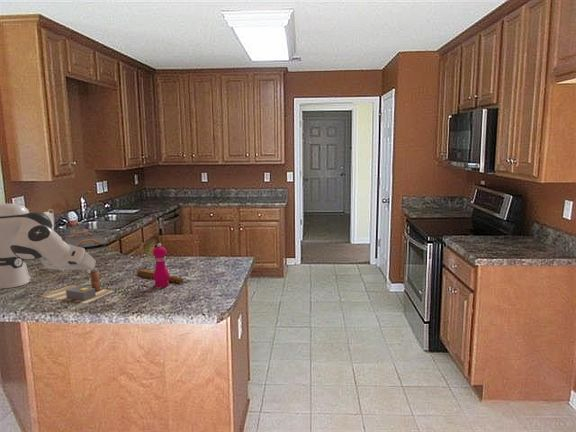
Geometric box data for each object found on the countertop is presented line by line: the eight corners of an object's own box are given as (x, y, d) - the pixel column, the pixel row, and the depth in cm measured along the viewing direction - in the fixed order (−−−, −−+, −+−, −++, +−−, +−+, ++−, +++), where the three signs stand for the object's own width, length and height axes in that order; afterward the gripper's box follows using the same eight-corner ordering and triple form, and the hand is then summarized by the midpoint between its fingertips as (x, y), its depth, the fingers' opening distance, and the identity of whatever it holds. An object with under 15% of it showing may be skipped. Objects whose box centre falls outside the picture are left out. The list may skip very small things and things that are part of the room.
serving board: (64, 241, 306) (63, 232, 305) (99, 237, 318) (98, 228, 317) (69, 252, 273) (68, 243, 272) (109, 247, 285) (108, 238, 284)
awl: (90, 291, 195) (87, 263, 192) (96, 289, 198) (93, 261, 196) (96, 292, 193) (93, 264, 191) (102, 290, 196) (99, 262, 194)
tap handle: (178, 278, 206) (135, 269, 221) (179, 285, 206) (135, 275, 222) (183, 276, 208) (140, 268, 224) (183, 283, 209) (140, 274, 224)
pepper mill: (156, 283, 209) (153, 241, 205) (171, 282, 208) (169, 241, 205) (151, 288, 202) (148, 245, 198) (167, 287, 201) (164, 245, 198)
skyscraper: (59, 253, 272) (55, 208, 268) (57, 256, 265) (52, 210, 260) (44, 254, 270) (39, 209, 265) (42, 257, 262) (36, 211, 257)
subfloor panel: (40, 299, 190) (40, 296, 190) (71, 287, 205) (70, 285, 204) (86, 306, 180) (86, 303, 180) (115, 293, 195) (114, 290, 195)
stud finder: (66, 298, 187) (65, 289, 186) (78, 293, 192) (77, 285, 192) (84, 300, 183) (83, 291, 183) (95, 296, 189) (94, 287, 188)
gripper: (32, 261, 170) (51, 277, 181) (82, 262, 167) (98, 278, 179) (39, 247, 174) (57, 264, 185) (87, 248, 171) (103, 265, 182)
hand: (78, 271), depth 182 cm, fingers open, 8 cm apart
